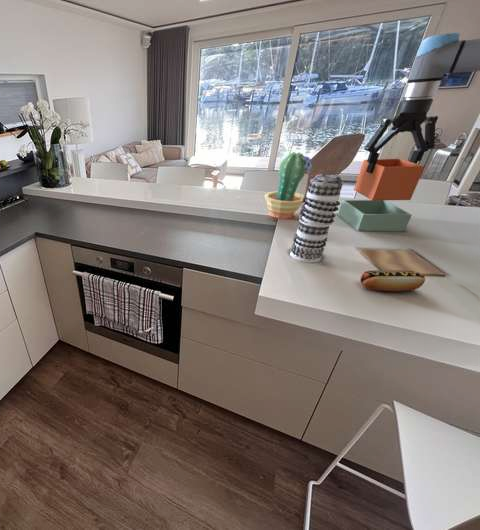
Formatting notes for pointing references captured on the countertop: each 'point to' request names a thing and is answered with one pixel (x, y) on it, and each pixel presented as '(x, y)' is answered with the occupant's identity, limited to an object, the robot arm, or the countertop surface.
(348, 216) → the sage bin
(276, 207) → the potted cactus
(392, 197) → the terracotta bin
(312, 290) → the countertop surface
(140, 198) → the countertop surface
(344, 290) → the countertop surface
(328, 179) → the decorative candle
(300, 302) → the countertop surface
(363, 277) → the hot dog
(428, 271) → the wooden square board
